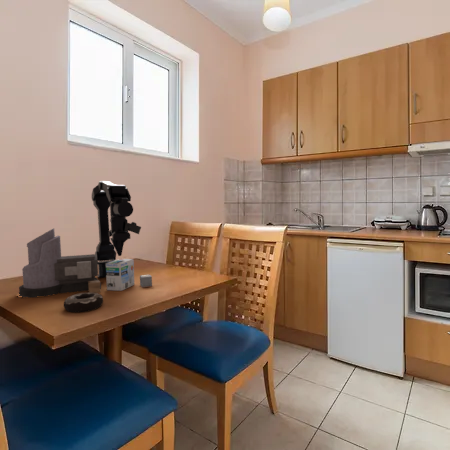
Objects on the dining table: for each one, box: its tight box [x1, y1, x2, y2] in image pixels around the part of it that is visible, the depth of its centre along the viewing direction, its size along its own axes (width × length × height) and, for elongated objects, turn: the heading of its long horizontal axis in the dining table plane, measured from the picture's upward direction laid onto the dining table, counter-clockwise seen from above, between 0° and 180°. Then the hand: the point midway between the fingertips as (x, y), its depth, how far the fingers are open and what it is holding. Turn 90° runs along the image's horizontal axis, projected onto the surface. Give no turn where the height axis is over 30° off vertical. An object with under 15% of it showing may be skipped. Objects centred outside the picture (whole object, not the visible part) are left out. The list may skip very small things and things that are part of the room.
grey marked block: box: [139, 274, 153, 288], centre depth 130 cm, size 4×4×4 cm
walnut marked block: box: [88, 279, 101, 294], centre depth 122 cm, size 4×4×4 cm
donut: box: [63, 291, 104, 313], centre depth 103 cm, size 12×12×4 cm
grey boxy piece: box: [18, 228, 102, 298], centre depth 126 cm, size 30×16×24 cm, turn 111°
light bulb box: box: [105, 258, 135, 292], centre depth 128 cm, size 11×7×11 cm, turn 168°
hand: (119, 255), depth 127 cm, fingers closed
